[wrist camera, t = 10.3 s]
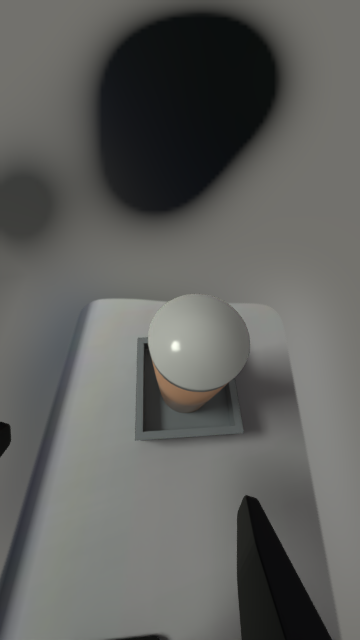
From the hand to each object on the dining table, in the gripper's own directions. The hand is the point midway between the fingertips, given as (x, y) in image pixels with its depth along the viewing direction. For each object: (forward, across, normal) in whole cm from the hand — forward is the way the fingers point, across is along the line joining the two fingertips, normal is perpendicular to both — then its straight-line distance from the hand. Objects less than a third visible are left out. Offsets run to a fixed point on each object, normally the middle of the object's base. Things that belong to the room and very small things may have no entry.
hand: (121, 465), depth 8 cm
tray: (+14, -2, +5) cm, 15 cm away
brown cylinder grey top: (+13, -2, +5) cm, 14 cm away
